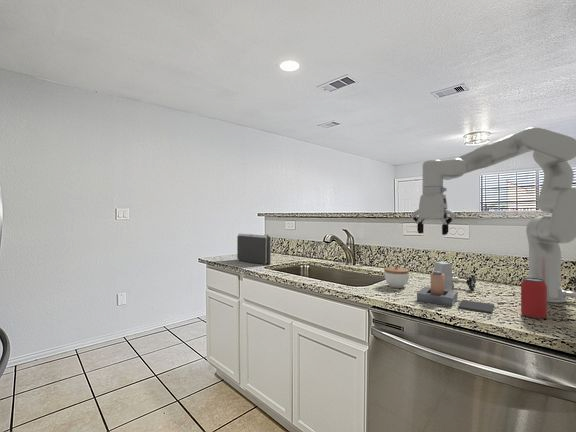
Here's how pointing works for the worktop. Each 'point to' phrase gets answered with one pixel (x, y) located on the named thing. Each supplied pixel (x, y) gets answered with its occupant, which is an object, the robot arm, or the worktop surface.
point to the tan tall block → (437, 283)
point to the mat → (476, 306)
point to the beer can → (534, 298)
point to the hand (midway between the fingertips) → (432, 233)
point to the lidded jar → (396, 276)
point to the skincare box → (445, 273)
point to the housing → (437, 297)
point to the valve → (464, 281)
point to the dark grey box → (254, 248)
